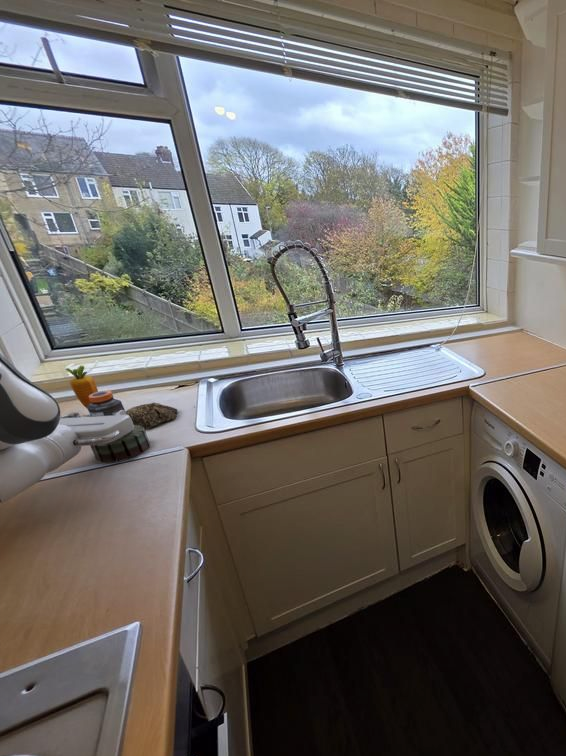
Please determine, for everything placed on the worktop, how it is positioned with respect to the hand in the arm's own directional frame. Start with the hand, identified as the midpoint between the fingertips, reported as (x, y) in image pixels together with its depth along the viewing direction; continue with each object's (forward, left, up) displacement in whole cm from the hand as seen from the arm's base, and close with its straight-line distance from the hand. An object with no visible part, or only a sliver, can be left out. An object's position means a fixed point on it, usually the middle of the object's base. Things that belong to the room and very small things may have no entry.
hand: (99, 414), depth 95 cm
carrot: (-7, +33, -12) cm, 36 cm away
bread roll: (+6, +19, -12) cm, 23 cm away
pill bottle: (+1, +2, -7) cm, 8 cm away
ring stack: (+1, +2, -12) cm, 12 cm away
